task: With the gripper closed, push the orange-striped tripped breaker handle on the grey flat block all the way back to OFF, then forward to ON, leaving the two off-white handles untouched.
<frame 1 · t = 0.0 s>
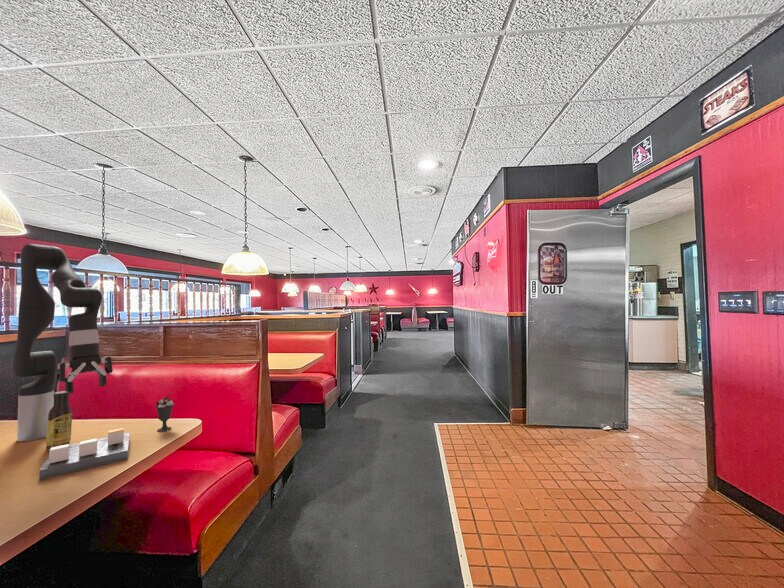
hand: (86, 389, 108), 22 cm above the table, tool pointing down, fingers open, 8 cm apart
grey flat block: (90, 457, 105), on the table
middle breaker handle: (88, 447, 102), point 5 cm above the table, slide at 10.0 cm
sauce bottle: (58, 447, 113), on the table
sundae: (164, 430, 129), on the table
right breaker handle: (59, 453, 97), point 5 cm above the table, slide at 10.0 cm
tripped breaker handle: (115, 436, 109), point 6 cm above the table, slide at 5.0 cm
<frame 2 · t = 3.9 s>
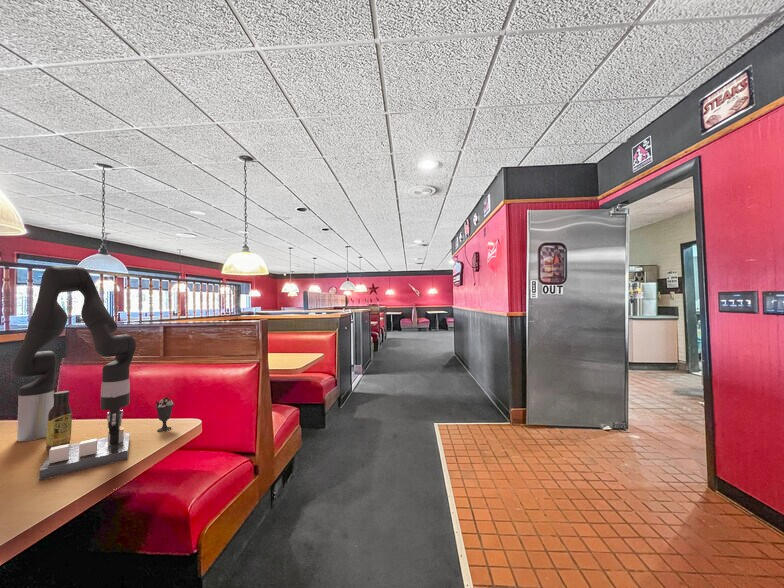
hand: (114, 443, 107), 4 cm above the table, tool pointing down, fingers closed
tripped breaker handle: (116, 435, 110), point 6 cm above the table, slide at 4.6 cm, touching gripper
everything else where it was.
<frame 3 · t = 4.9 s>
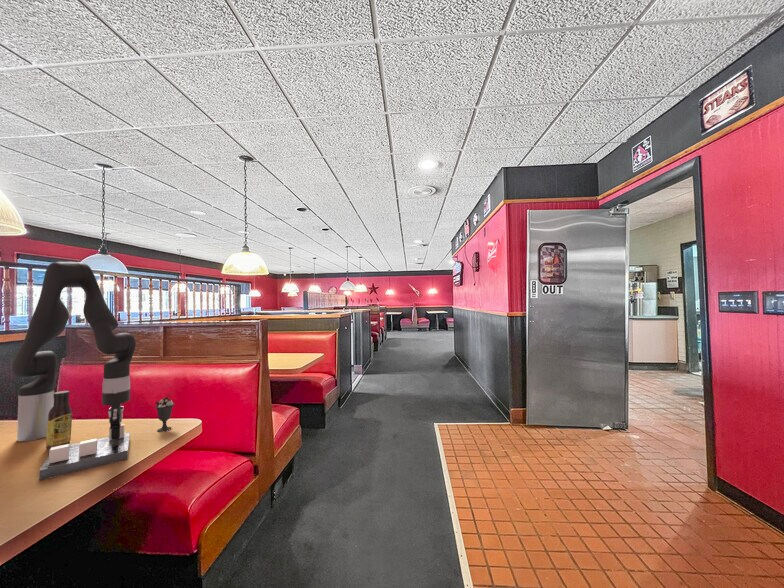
hand: (115, 438, 110), 4 cm above the table, tool pointing down, fingers closed
tripped breaker handle: (116, 431, 113), point 6 cm above the table, slide at -0.1 cm, touching gripper
everything else where it was.
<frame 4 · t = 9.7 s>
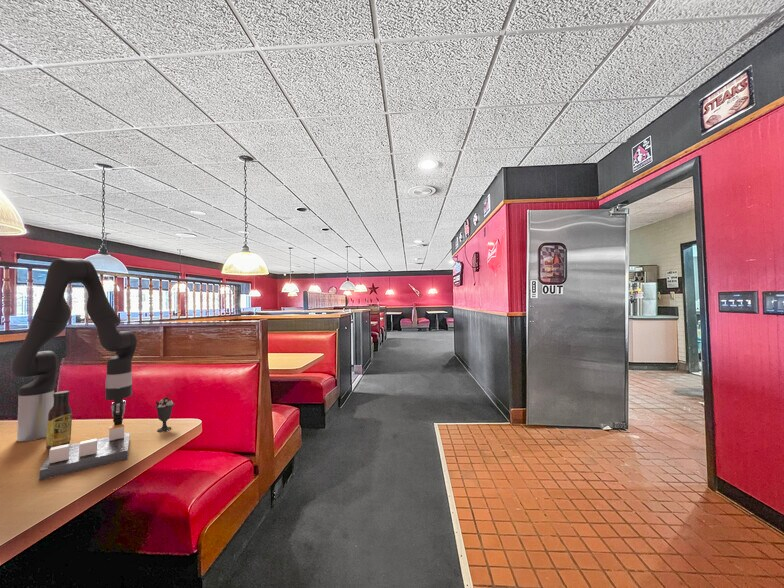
hand: (118, 431, 116), 5 cm above the table, tool pointing down, fingers closed
tripped breaker handle: (116, 432, 113), point 6 cm above the table, slide at 0.5 cm, touching gripper
everything else where it was.
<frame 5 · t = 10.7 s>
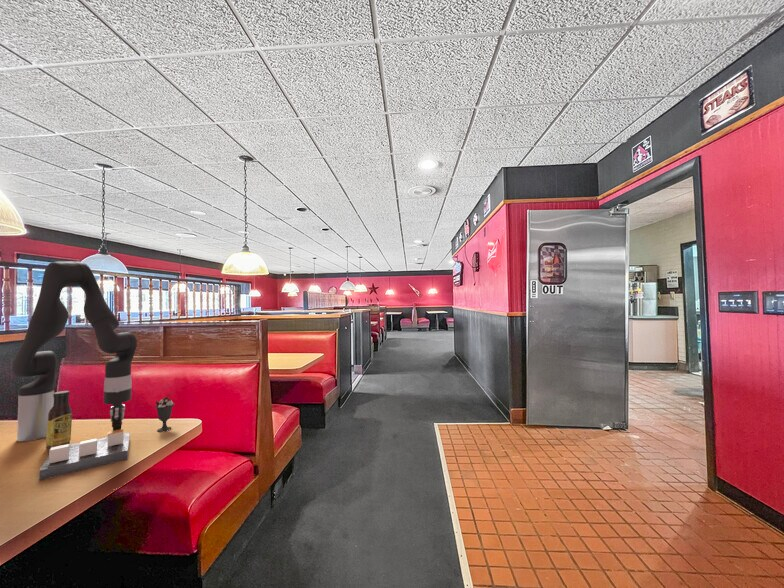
hand: (117, 436, 111), 5 cm above the table, tool pointing down, fingers closed
tripped breaker handle: (115, 437, 109), point 6 cm above the table, slide at 6.2 cm, touching gripper
everything else where it was.
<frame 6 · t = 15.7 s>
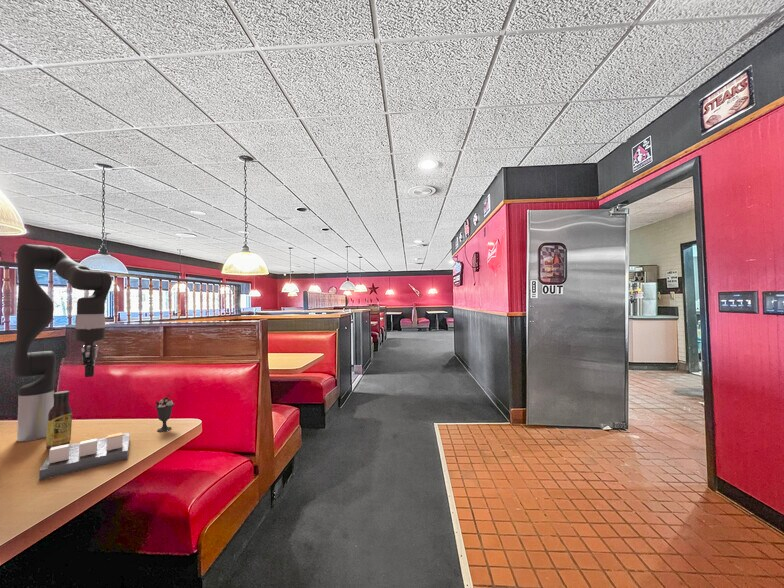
hand: (89, 376, 108), 27 cm above the table, tool pointing down, fingers closed
tripped breaker handle: (114, 441, 106), point 6 cm above the table, slide at 10.1 cm
everything else where it was.
at the end: tripped breaker handle slide at 10.1 cm; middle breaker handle slide at 10.0 cm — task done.
